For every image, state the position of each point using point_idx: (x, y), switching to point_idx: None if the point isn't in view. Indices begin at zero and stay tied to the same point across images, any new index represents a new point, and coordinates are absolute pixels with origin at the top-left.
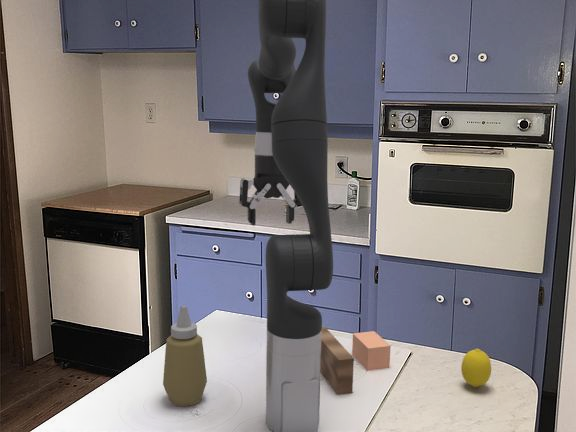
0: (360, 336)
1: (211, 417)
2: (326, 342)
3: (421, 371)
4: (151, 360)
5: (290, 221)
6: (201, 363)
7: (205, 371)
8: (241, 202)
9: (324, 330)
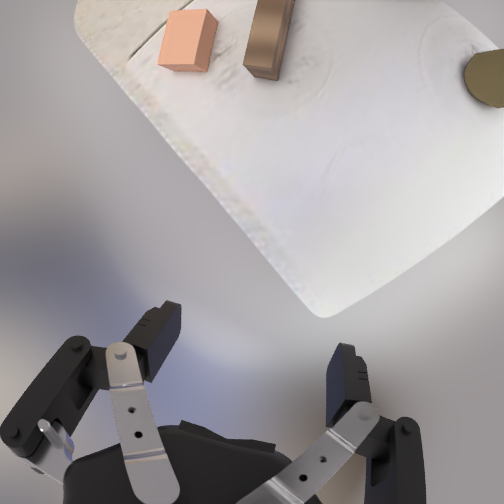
0: (189, 50)
1: (461, 31)
2: (279, 8)
3: (155, 7)
4: (479, 206)
5: (170, 304)
6: (493, 50)
7: (479, 56)
8: (416, 438)
9: (254, 49)
